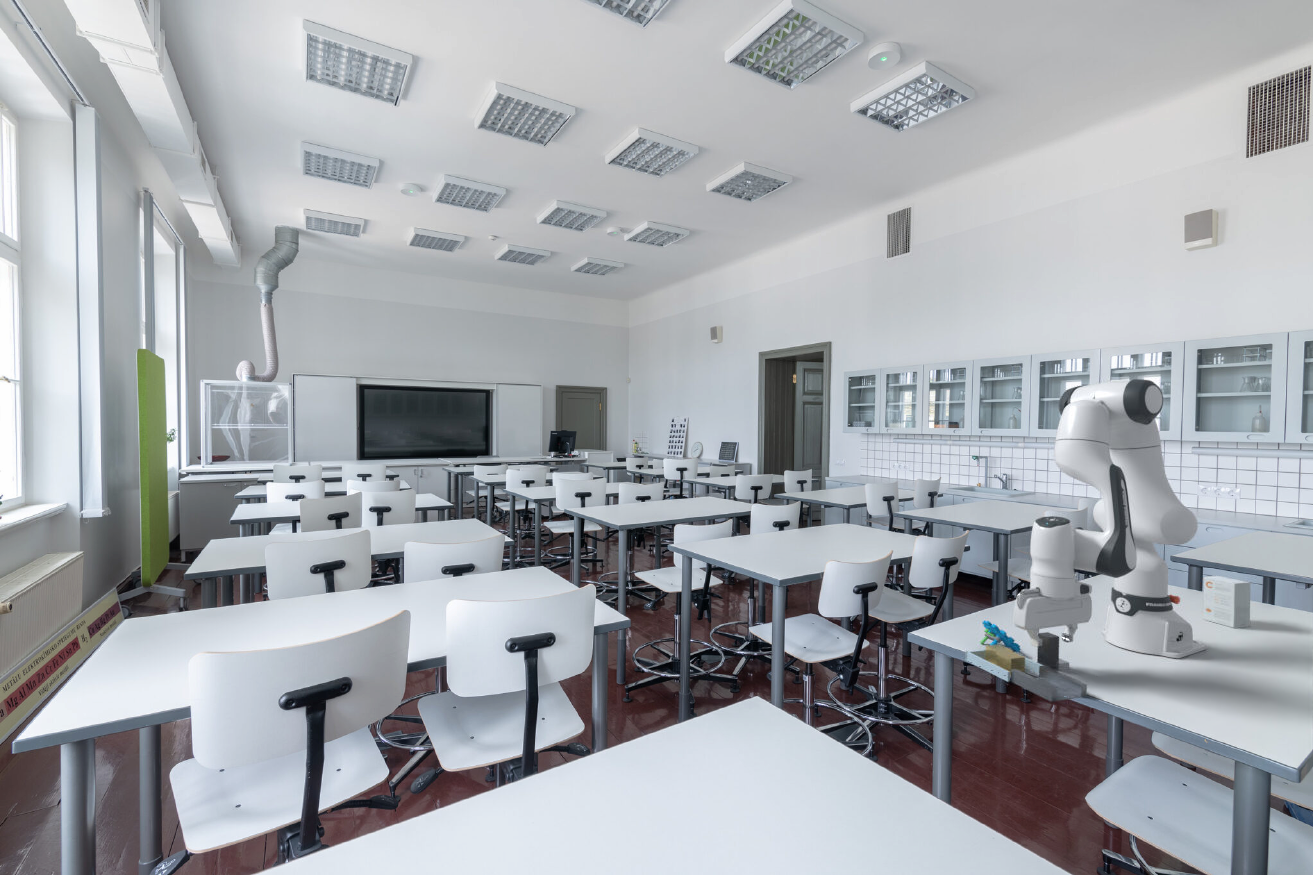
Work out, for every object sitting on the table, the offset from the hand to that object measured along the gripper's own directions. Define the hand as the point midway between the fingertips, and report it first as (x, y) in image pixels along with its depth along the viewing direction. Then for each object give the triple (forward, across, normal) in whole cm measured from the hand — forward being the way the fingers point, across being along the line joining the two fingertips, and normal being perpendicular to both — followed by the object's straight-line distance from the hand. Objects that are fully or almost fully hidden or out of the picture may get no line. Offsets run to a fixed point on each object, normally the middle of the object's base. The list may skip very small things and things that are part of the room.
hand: (1052, 643), depth 139 cm
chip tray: (+6, -11, +3) cm, 13 cm away
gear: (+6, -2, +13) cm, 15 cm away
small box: (+8, +80, +12) cm, 82 cm away
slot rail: (+6, -11, -8) cm, 15 cm away
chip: (+6, -12, +1) cm, 13 cm away
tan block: (+6, -11, +5) cm, 13 cm away
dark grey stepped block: (+6, 0, +1) cm, 6 cm away
